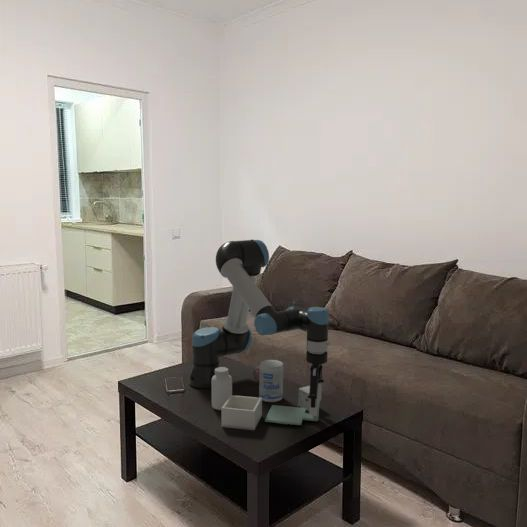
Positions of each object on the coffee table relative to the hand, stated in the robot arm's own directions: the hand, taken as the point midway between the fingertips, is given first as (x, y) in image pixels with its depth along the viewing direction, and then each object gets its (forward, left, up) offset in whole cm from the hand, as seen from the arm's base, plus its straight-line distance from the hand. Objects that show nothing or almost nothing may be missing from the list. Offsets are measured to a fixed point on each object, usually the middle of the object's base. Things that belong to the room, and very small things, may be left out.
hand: (315, 407), depth 188 cm
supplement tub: (-17, -20, -5) cm, 26 cm away
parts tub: (+6, -26, -5) cm, 27 cm away
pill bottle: (-5, -37, -5) cm, 37 cm away
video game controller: (-36, -28, -5) cm, 46 cm away
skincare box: (-12, -4, -5) cm, 13 cm away
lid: (0, -8, -5) cm, 10 cm away
